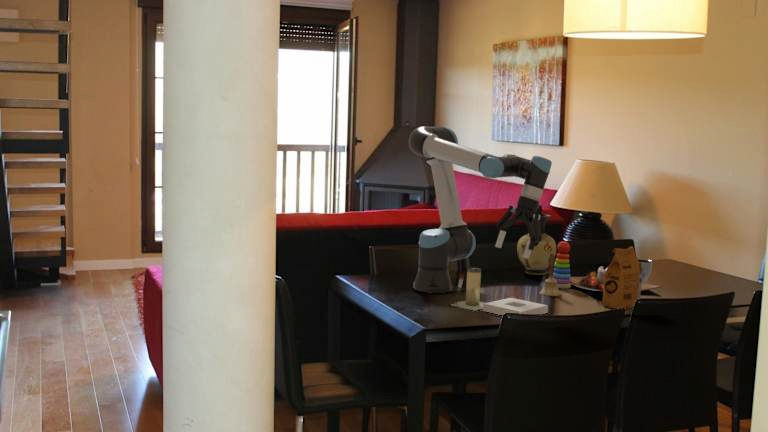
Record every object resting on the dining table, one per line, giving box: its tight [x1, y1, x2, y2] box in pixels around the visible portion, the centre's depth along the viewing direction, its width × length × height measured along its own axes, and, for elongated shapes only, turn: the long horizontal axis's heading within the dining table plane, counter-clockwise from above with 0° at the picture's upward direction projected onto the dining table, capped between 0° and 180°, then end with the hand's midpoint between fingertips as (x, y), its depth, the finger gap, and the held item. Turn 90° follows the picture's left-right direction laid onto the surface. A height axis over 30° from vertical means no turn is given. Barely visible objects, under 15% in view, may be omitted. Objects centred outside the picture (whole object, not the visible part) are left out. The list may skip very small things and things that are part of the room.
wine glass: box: [637, 258, 653, 298], centre depth 336 cm, size 8×8×15 cm
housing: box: [482, 297, 549, 316], centre depth 307 cm, size 16×16×3 cm
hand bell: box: [539, 253, 562, 297], centre depth 341 cm, size 8×8×16 cm
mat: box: [457, 300, 485, 310], centre depth 315 cm, size 12×12×1 cm
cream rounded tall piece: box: [516, 204, 557, 276], centre depth 384 cm, size 18×17×30 cm
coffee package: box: [601, 245, 640, 310], centre depth 321 cm, size 10×12×22 cm
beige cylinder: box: [464, 267, 482, 306], centre depth 315 cm, size 5×5×13 cm
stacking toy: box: [553, 240, 572, 290], centre depth 354 cm, size 8×8×19 cm
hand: (511, 252), depth 323 cm, fingers open, 13 cm apart
